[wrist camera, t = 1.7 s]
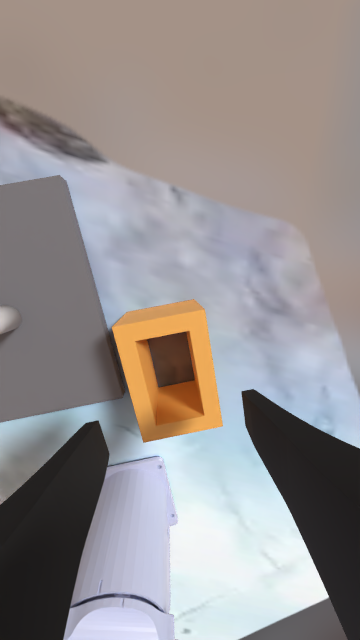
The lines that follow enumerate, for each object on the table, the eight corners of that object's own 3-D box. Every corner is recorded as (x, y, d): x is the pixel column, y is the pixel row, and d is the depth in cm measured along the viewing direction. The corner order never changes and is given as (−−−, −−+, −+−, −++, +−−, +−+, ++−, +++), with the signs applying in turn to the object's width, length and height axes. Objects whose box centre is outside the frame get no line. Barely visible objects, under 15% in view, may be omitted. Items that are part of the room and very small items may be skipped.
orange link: (208, 388, 20) (222, 426, 15) (148, 400, 20) (143, 442, 15) (194, 299, 18) (204, 309, 13) (126, 312, 18) (111, 327, 13)
